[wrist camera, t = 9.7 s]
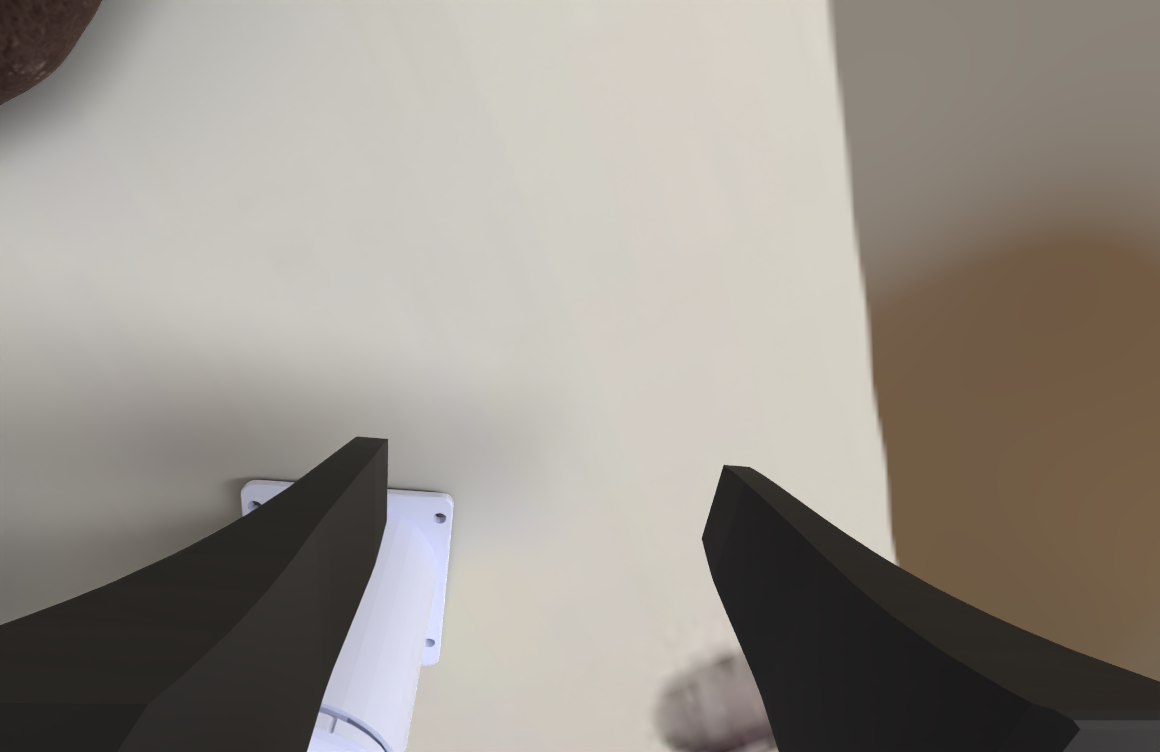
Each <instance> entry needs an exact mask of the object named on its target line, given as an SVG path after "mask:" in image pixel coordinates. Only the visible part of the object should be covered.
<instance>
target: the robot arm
mask: <svg viewBox="0 0 1160 752" xmlns="http://www.w3.org/2000/svg"><path fill="white" fill-rule="evenodd" d="M387 478H388V439H380V438H367V437H356V438H354V439H353V440H351V441H350V442H349V443H347V444H346V445H345V446H343V447H342V448H341V449H339V450H338V451H337V452H335V453H334V454H333V455H331V456H330V457H329V458H327V459H326V460H325V461H323V462H322V463H321V464H319V465H318V466H317V467H315V468H314V469H313V470H311V471H310V472H309V473H307V474H306V475H305V476H303V477H302V478H300V479H299V480H298V481H296V482H282V481H268V480H251V481H249V482H247V483H246V485H245V486H244V487H243V488H242V490H241V494H240V495H241V506H242V518H240V519H238V520H237V521H235V522H233V523H231V524H230V525H228V526H226V527H224V528H223V529H221V530H219V531H217V532H216V533H214V534H212V535H210V536H208V537H206V538H204V539H202V540H201V541H199V542H197V543H195V544H193V545H191V546H189V547H187V548H185V549H183V550H181V551H179V552H177V553H175V554H173V555H171V556H169V557H167V558H164V559H162V560H160V561H158V562H156V563H154V564H151V565H149V566H147V567H145V568H143V569H141V570H138V571H136V572H134V573H132V574H130V575H127V576H125V577H123V578H121V579H119V580H117V581H114V582H112V583H110V584H107V585H105V586H102V587H100V588H97V589H95V590H93V591H90V592H88V593H85V594H83V595H80V596H78V597H75V598H73V599H70V600H68V601H65V602H62V603H60V604H57V605H54V606H52V607H49V608H46V609H44V610H41V611H38V612H36V613H33V614H30V615H28V616H25V617H22V618H19V619H17V620H14V621H11V622H8V623H5V624H2V625H0V752H406V746H407V741H408V735H409V729H410V724H411V718H412V713H413V707H414V702H415V696H416V690H417V685H418V679H419V674H420V668H421V666H429V665H433V664H435V663H436V662H437V661H438V660H439V655H440V646H441V636H442V625H443V614H444V604H445V593H446V582H447V572H448V561H449V550H450V540H451V529H452V518H453V508H454V502H453V499H452V497H451V496H449V495H448V494H445V493H436V492H422V491H408V490H394V489H387ZM252 501H257V502H259V503H260V504H261V505H260V506H258V505H255V504H254V503H253V502H252ZM437 513H442V514H444V515H445V517H441V518H440V517H437V516H436V515H435V514H437ZM702 541H703V545H704V549H705V553H706V557H707V561H708V565H709V568H710V572H711V575H712V578H713V581H714V584H715V586H716V589H717V591H718V594H719V596H720V598H721V601H722V603H723V606H724V608H725V610H726V613H727V615H728V618H729V620H730V622H731V625H732V627H733V629H734V632H735V634H736V636H737V639H738V641H739V643H740V646H741V648H742V650H743V653H744V655H745V657H746V660H747V662H748V664H749V667H750V669H751V671H752V674H753V676H754V678H755V681H756V684H757V686H758V689H759V692H760V694H761V697H762V700H763V703H764V706H765V709H766V712H767V715H768V719H769V722H770V725H771V728H772V731H773V735H774V738H775V741H776V744H777V747H778V751H779V752H1160V682H1159V681H1156V680H1153V679H1151V678H1148V677H1145V676H1142V675H1140V674H1137V673H1134V672H1131V671H1128V670H1126V669H1123V668H1120V667H1118V666H1115V665H1112V664H1109V663H1106V662H1104V661H1101V660H1098V659H1096V658H1093V657H1090V656H1087V655H1084V654H1082V653H1079V652H1076V651H1074V650H1071V649H1069V648H1066V647H1064V646H1061V645H1059V644H1056V643H1054V642H1052V641H1049V640H1047V639H1045V638H1042V637H1040V636H1037V635H1035V634H1033V633H1030V632H1028V631H1025V630H1023V629H1021V628H1018V627H1016V626H1014V625H1012V624H1010V623H1007V622H1005V621H1003V620H1001V619H998V618H996V617H994V616H992V615H989V614H988V613H986V612H984V611H981V610H979V609H977V608H975V607H973V606H971V605H969V604H967V603H965V602H963V601H961V600H959V599H957V598H955V597H953V596H951V595H949V594H947V593H945V592H943V591H941V590H939V589H937V588H935V587H933V586H932V585H930V584H928V583H926V582H924V581H922V580H921V579H919V578H917V577H916V576H914V575H912V574H910V573H909V572H907V571H905V570H903V569H902V568H900V567H898V566H896V565H894V564H893V563H891V562H890V561H888V560H886V559H885V558H883V557H881V556H880V555H878V554H876V553H875V552H873V551H872V550H870V549H869V548H867V547H866V546H864V545H863V544H861V543H860V542H858V541H856V540H855V539H853V538H852V537H850V536H849V535H847V534H846V533H844V532H843V531H841V530H840V529H839V528H837V527H836V526H834V525H833V524H831V523H830V522H828V521H827V520H826V519H824V518H823V517H821V516H820V515H818V514H817V513H816V512H814V511H813V510H811V509H810V508H809V507H807V506H806V505H805V504H803V503H802V502H800V501H799V500H798V499H796V498H795V497H793V496H792V495H791V494H789V493H788V492H787V491H785V490H784V489H782V488H781V487H780V486H778V485H777V484H775V483H774V482H772V481H771V480H770V479H768V478H767V477H765V476H764V475H762V474H761V473H759V472H757V471H756V470H754V469H752V468H750V467H742V466H729V465H724V466H723V469H722V473H721V476H720V479H719V483H718V486H717V489H716V493H715V496H714V499H713V503H712V506H711V509H710V513H709V516H708V519H707V523H706V526H705V529H704V533H703V536H702ZM428 639H433V640H428Z"/></svg>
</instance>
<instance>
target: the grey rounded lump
mask: <svg viewBox="0 0 1160 752" xmlns="http://www.w3.org/2000/svg"><path fill="white" fill-rule="evenodd" d="M101 1H102V0H0V105H1V104H3V103H5V102H6V101H8V100H10V99H12V98H14V97H16V96H18V95H19V94H21V93H23V92H25V91H26V90H28V89H30V88H32V87H33V86H35V85H36V84H38V83H39V82H41V81H42V80H43V79H45V78H46V77H47V76H49V75H50V74H51V73H52V72H54V71H55V70H56V69H57V68H58V67H59V66H60V64H61V63H62V62H63V61H64V60H65V58H66V57H67V56H68V54H69V53H70V52H71V50H72V49H73V47H74V46H75V44H76V42H77V41H78V39H79V37H80V36H81V34H82V33H83V31H84V30H85V28H86V27H87V26H88V24H89V23H90V21H91V20H92V18H93V17H94V15H95V13H96V11H97V9H98V7H99V5H100V3H101Z"/></svg>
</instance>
